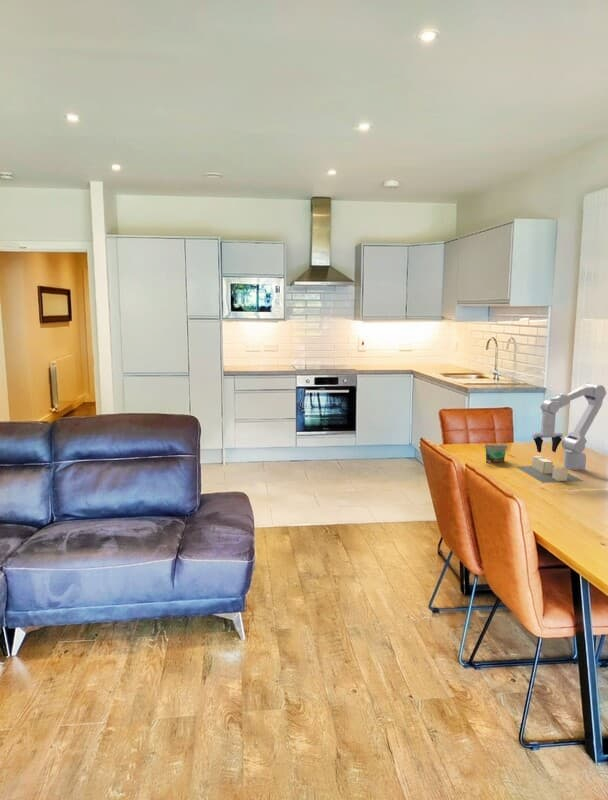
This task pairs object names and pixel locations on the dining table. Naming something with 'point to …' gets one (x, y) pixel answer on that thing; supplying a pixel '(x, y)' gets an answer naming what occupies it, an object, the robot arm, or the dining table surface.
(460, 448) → the dining table surface
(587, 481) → the dining table surface
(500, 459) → the food container
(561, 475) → the block
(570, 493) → the dining table surface
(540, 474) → the mat
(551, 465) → the cream box
